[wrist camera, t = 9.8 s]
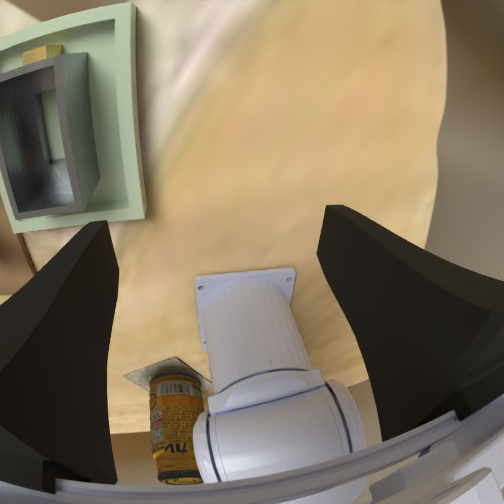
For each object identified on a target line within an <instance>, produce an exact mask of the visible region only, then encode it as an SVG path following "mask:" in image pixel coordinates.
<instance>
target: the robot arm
mask: <svg viewBox="0 0 504 504" xmlns="http://www.w3.org/2000/svg"><path fill="white" fill-rule="evenodd" d="M317 256H318V259H319V262H320V265H321V268H322V270H323V273H324V276H325V278H326V280H327V282H328V284H329V286H330V288H331V290H332V292H333V293H334V295H335V297H336V299H337V301H338V303H339V305H340V307H341V309H342V311H343V312H344V314H345V316H346V318H347V320H348V322H349V324H350V326H351V328H352V330H353V333H354V335H355V337H356V340H357V343H358V345H359V348H360V351H361V354H362V357H363V360H364V363H365V366H366V369H367V373H368V376H369V379H370V383H371V387H372V391H373V395H374V399H375V403H376V407H377V413H378V418H379V424H380V429H381V437H382V443H379V444H377V445H374V446H371V447H369V448H366V435H365V430H364V426H363V422H362V419H361V416H360V413H359V410H358V408H357V406H356V403H355V401H354V399H353V397H352V395H351V393H350V392H349V390H348V389H347V388H346V387H345V386H344V385H342V384H340V383H338V382H337V381H336V380H334V379H332V380H328V381H325V382H324V379H323V376H322V374H321V371H320V369H315V370H314V369H313V366H312V364H311V361H310V358H309V356H308V353H307V350H306V348H305V345H304V343H303V340H302V337H301V335H300V332H299V329H298V327H297V324H296V322H295V319H294V316H293V314H292V311H291V309H290V303H291V298H292V293H293V287H294V282H295V276H296V271H295V269H294V268H292V267H287V268H277V269H266V270H256V271H245V272H234V273H223V274H211V275H200V276H197V277H196V278H195V280H194V283H195V293H196V302H197V312H198V320H199V329H200V337H201V345H202V350H204V351H207V353H208V360H209V367H210V374H211V381H212V388H213V394H214V395H213V396H209V397H208V405H209V411H206V412H202V413H201V414H200V415H199V417H198V420H197V421H196V423H195V425H194V428H193V446H194V453H195V458H196V462H197V466H198V469H199V472H200V475H201V477H202V479H203V481H204V483H205V484H193V485H174V486H128V485H115V484H116V482H117V481H118V479H117V474H116V470H115V464H114V458H113V452H112V446H111V438H110V429H109V419H108V402H107V361H108V351H109V344H110V338H111V332H112V326H113V320H114V314H115V308H116V303H117V297H118V284H119V267H118V263H117V259H116V256H115V252H114V248H113V244H112V240H111V235H110V231H109V227H108V222H107V220H102V221H92V222H89V223H88V224H86V225H85V226H84V227H83V228H82V229H81V230H80V231H79V232H78V233H77V234H76V235H75V236H74V237H73V238H72V239H71V240H70V241H69V242H68V243H67V244H66V245H65V246H64V247H63V248H62V249H61V250H60V251H59V252H58V253H57V254H56V255H55V256H54V257H53V258H52V259H51V260H50V261H49V262H48V263H47V264H46V265H45V266H43V267H42V268H41V269H40V270H39V271H38V272H37V273H36V274H35V275H34V276H33V277H32V278H31V279H30V280H29V281H28V282H27V283H26V284H25V285H24V286H23V287H21V288H20V289H19V290H18V291H17V292H16V293H15V294H13V295H12V296H11V297H10V298H9V299H8V300H6V301H5V302H4V303H3V304H1V305H0V504H351V503H352V502H353V501H354V500H355V499H356V497H357V496H358V495H359V494H360V493H361V491H362V490H363V489H364V488H365V486H366V485H367V483H368V482H367V476H368V475H370V474H373V473H376V472H378V471H380V470H383V469H385V468H388V467H390V466H392V465H395V464H397V463H399V462H401V461H404V460H406V459H408V458H410V457H412V456H414V455H416V454H418V453H420V452H421V453H420V455H419V457H418V459H417V460H415V461H413V462H411V463H409V464H407V465H405V466H403V467H401V468H399V469H398V470H397V471H395V472H394V473H392V474H390V475H388V476H387V477H385V478H383V479H381V480H379V481H377V482H375V483H373V484H371V485H370V486H369V490H370V492H371V495H372V501H370V502H368V503H365V504H504V498H503V495H502V493H501V489H502V487H503V486H504V281H501V280H497V279H494V278H491V277H487V276H485V275H482V274H479V273H476V272H473V271H471V270H468V269H466V268H463V267H460V266H458V265H455V264H453V263H451V262H449V261H446V260H444V259H442V258H440V257H438V256H436V255H434V254H432V253H429V252H428V251H426V250H424V249H422V248H420V247H418V246H416V245H414V244H412V243H411V242H409V241H407V240H405V239H403V238H402V237H400V236H398V235H396V234H395V233H393V232H391V231H390V230H388V229H386V228H384V227H383V226H381V225H379V224H378V223H376V222H374V221H373V220H371V219H369V218H367V217H366V216H364V215H362V214H360V213H358V212H357V211H355V210H353V209H351V208H349V207H346V206H344V205H326V209H325V214H324V219H323V224H322V229H321V234H320V239H319V244H318V249H317ZM288 277H290V278H288ZM287 278H288V279H287ZM199 286H203V287H199Z"/></svg>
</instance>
